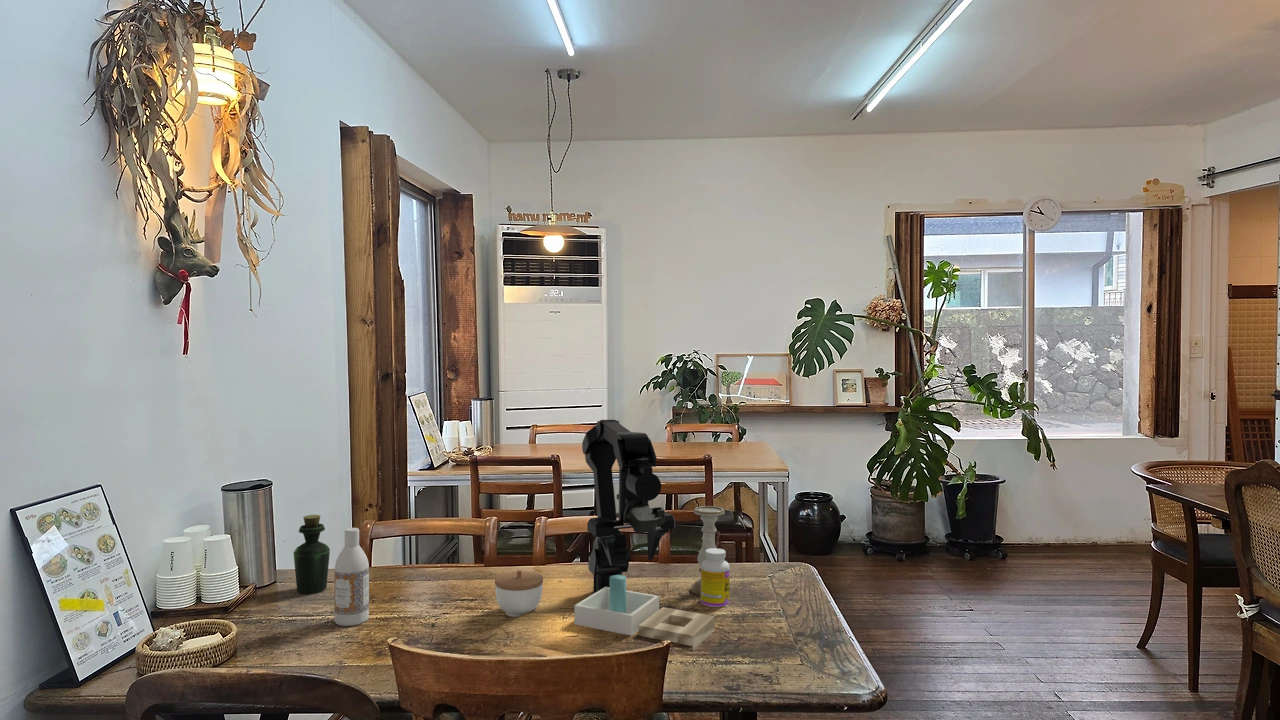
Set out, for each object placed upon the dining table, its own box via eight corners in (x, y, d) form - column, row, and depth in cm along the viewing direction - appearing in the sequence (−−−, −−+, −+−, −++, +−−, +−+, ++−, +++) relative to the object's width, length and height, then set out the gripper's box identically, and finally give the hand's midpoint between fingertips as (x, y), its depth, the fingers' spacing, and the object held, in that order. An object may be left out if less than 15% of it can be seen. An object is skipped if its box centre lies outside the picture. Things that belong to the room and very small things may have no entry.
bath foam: (327, 624, 158) (327, 531, 157) (349, 613, 164) (349, 524, 164) (354, 628, 156) (354, 534, 155) (375, 617, 162) (375, 526, 162)
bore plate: (638, 639, 151) (638, 625, 151) (662, 620, 162) (662, 607, 161) (693, 651, 145) (693, 635, 145) (714, 630, 156) (714, 616, 156)
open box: (574, 628, 156) (574, 605, 156) (605, 608, 169) (605, 586, 169) (631, 640, 151) (631, 616, 150) (659, 618, 163) (659, 596, 163)
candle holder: (732, 589, 183) (733, 508, 182) (716, 599, 175) (717, 514, 175) (700, 583, 187) (701, 503, 187) (684, 592, 180) (684, 510, 180)
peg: (606, 620, 159) (606, 578, 159) (614, 614, 162) (614, 574, 162) (621, 623, 157) (621, 581, 157) (628, 617, 160) (629, 576, 160)
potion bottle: (335, 584, 184) (335, 512, 184) (322, 595, 176) (322, 520, 176) (302, 584, 184) (302, 512, 183) (287, 595, 176) (287, 520, 175)
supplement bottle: (728, 612, 167) (728, 555, 167) (698, 609, 168) (699, 553, 168) (730, 602, 174) (731, 547, 173) (702, 600, 175) (702, 546, 175)
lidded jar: (552, 612, 166) (553, 570, 166) (514, 624, 158) (514, 581, 158) (523, 600, 174) (523, 560, 173) (485, 612, 166) (485, 570, 166)
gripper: (606, 502, 148) (606, 579, 149) (687, 495, 156) (687, 568, 157) (586, 492, 158) (586, 564, 159) (663, 485, 166) (663, 554, 167)
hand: (631, 562), depth 160 cm, fingers open, 9 cm apart
